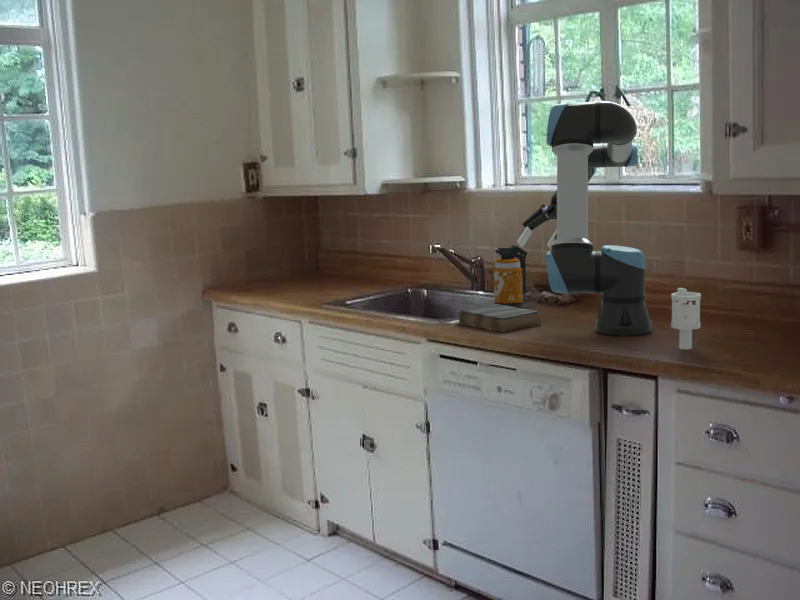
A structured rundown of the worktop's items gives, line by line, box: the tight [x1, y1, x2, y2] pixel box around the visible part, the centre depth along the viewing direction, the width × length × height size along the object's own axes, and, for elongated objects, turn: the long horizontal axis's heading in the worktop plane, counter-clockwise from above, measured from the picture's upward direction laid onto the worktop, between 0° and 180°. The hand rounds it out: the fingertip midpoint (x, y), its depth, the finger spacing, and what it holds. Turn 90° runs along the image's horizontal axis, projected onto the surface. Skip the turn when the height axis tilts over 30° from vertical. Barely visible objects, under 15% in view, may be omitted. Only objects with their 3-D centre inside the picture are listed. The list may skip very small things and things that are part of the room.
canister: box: [493, 245, 528, 308], centre depth 296 cm, size 9×11×20 cm
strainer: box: [670, 287, 702, 351], centre depth 233 cm, size 7×7×15 cm
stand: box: [458, 303, 542, 333], centre depth 273 cm, size 19×15×4 cm
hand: (534, 246), depth 300 cm, fingers open, 13 cm apart
